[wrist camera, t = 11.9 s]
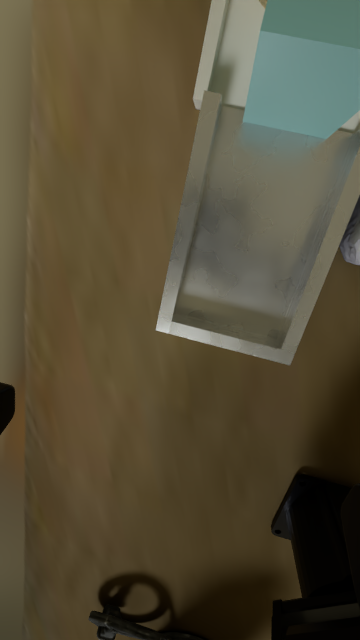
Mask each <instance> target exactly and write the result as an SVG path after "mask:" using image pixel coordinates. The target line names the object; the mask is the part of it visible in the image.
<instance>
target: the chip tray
mask: <svg viewBox="0 0 360 640" xmlns="http://www.w3.org/2000/svg"><path fill="white" fill-rule="evenodd" d="M264 12H265V8H264V7H263V6H262V5H261V3H260V2H259V0H212V2H211V7H210V12H209V18H208V23H207V28H206V33H205V38H204V44H203V49H202V54H201V59H200V65H199V70H198V75H197V80H196V85H195V91H194V96H193V101H194V104H195V108H196V109H201V104H202V99H203V94H204V90H205V91H210V92H215V93H220V94H222V106H224V107H228V108H233V109H238V110H243V111H245V106H246V101H247V96H248V91H249V85H250V80H251V75H252V70H253V65H254V59H255V54H256V49H257V44H258V39H259V33H260V29H261V25H262V21H263V16H264ZM358 130H360V110H359V111H358V112H357V113H356V114H355V115H354V116H352V117H351V118H350V119H349V120H348V121H347V122H346V123H344V124H343V125H342V126H341V127H340V128H339V129H338V131H343V132H348V133H352V134H354V133H355V132H357V131H358Z"/></svg>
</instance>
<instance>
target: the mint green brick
mask: <svg viewBox="0 0 360 640" xmlns="http://www.w3.org/2000/svg"><path fill="white" fill-rule="evenodd" d="M359 110H360V0H267V4H266V8H265V12H264V16H263V21H262V25H261V29H260V33H259V39H258V44H257V49H256V54H255V59H254V65H253V70H252V75H251V80H250V85H249V91H248V96H247V101H246V106H245V111H244V116H243V122H247V123H251V124H256V125H261V126H266V127H271V128H275V129H280V130H285V131H290V132H295V133H299V134H304V135H309V136H314V137H319V138H324V139H327V138H328V137H329V136H331V135H332V134H333V133H334V132H335V131H336V130H338V129H339V128H340V127H341V126H342V125H343V124H344V123H346V122H347V121H348V120H349V119H350V118H351V117H352V116H354V115H355V114H356V113H357V112H358V111H359Z"/></svg>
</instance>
